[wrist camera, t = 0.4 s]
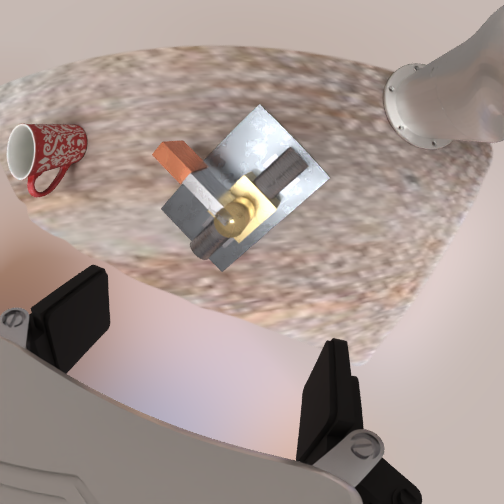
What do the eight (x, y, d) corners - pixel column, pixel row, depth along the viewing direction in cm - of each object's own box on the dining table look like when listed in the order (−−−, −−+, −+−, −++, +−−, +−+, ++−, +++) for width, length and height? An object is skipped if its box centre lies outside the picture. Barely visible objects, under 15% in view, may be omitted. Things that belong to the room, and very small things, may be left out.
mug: (59, 122, 44) (5, 128, 32) (91, 116, 42) (35, 119, 30) (60, 185, 49) (9, 202, 36) (92, 185, 47) (38, 203, 35)
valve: (260, 104, 38) (253, 100, 33) (329, 177, 40) (332, 182, 35) (162, 208, 46) (147, 216, 41) (223, 270, 48) (213, 284, 43)
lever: (260, 211, 38) (251, 224, 32) (241, 229, 39) (229, 244, 34) (186, 136, 36) (166, 136, 31) (169, 155, 37) (148, 159, 32)
